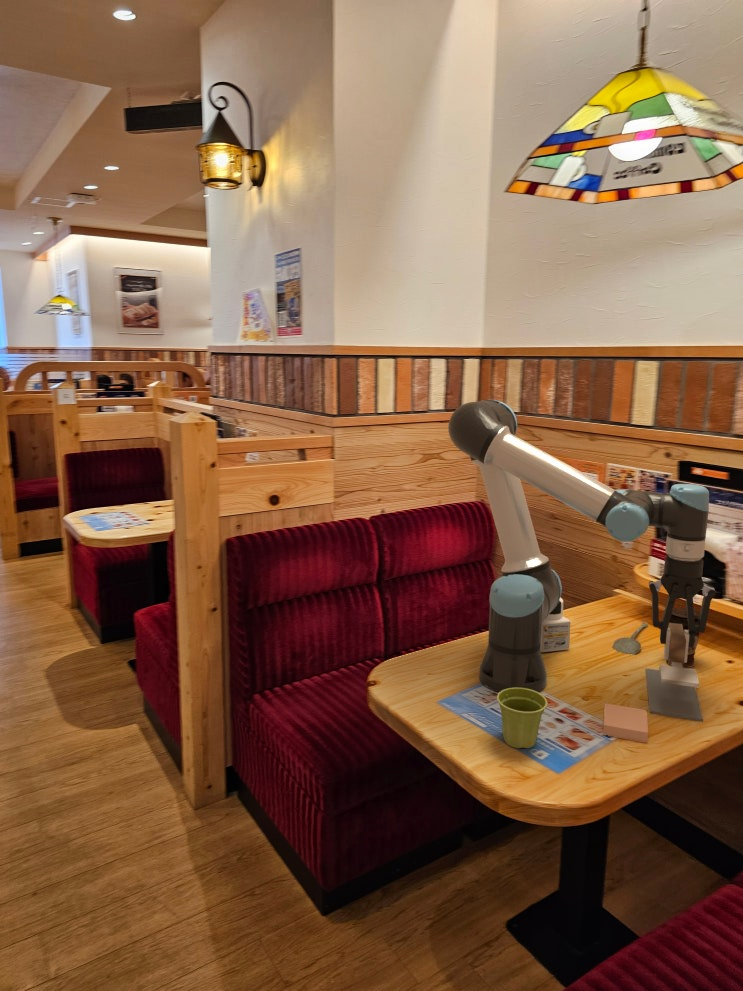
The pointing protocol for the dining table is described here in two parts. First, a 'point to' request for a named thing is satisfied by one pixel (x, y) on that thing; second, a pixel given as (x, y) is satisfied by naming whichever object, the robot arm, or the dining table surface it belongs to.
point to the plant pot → (521, 715)
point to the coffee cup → (681, 618)
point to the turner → (678, 660)
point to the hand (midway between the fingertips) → (675, 658)
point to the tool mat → (672, 698)
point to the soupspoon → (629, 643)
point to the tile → (625, 723)
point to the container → (555, 630)
